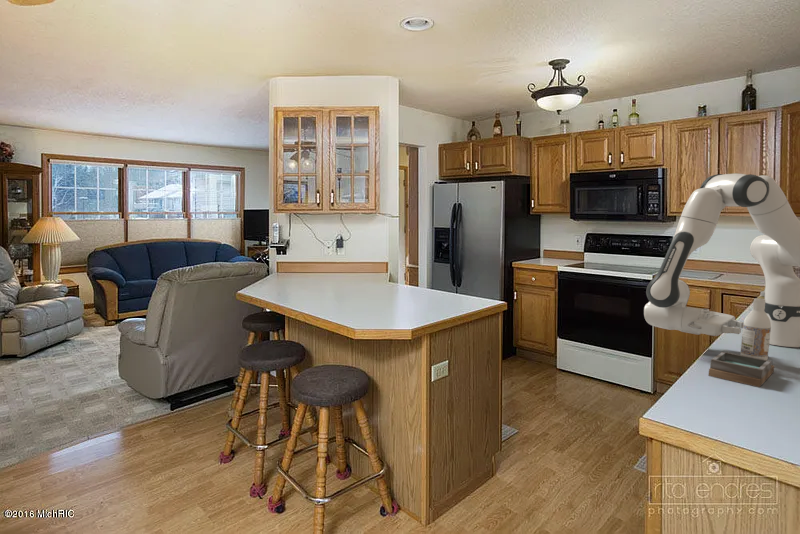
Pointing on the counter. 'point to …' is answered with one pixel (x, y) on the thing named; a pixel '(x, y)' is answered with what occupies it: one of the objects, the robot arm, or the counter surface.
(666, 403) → the counter surface
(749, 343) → the bath foam
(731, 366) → the tray
